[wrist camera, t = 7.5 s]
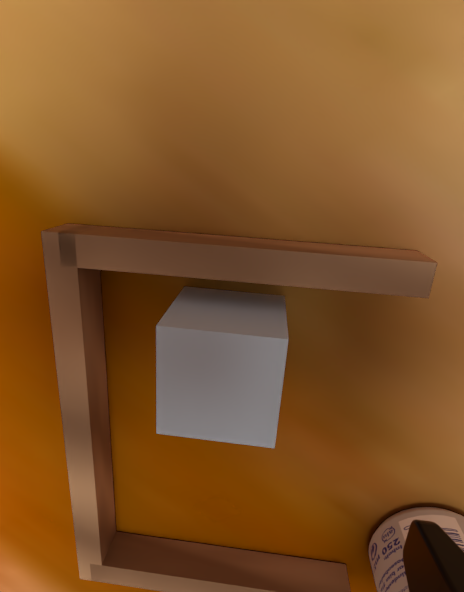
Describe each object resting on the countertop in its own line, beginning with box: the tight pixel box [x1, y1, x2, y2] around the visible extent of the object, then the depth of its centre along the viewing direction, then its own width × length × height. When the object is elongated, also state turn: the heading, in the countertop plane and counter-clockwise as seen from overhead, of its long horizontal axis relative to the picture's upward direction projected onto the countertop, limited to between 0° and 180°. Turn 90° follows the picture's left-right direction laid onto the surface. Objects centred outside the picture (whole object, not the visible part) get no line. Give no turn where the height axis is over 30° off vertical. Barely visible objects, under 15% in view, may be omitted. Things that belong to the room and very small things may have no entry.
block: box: [156, 286, 289, 448], centre depth 14 cm, size 4×4×4 cm
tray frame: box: [41, 224, 437, 592], centre depth 16 cm, size 17×13×2 cm
